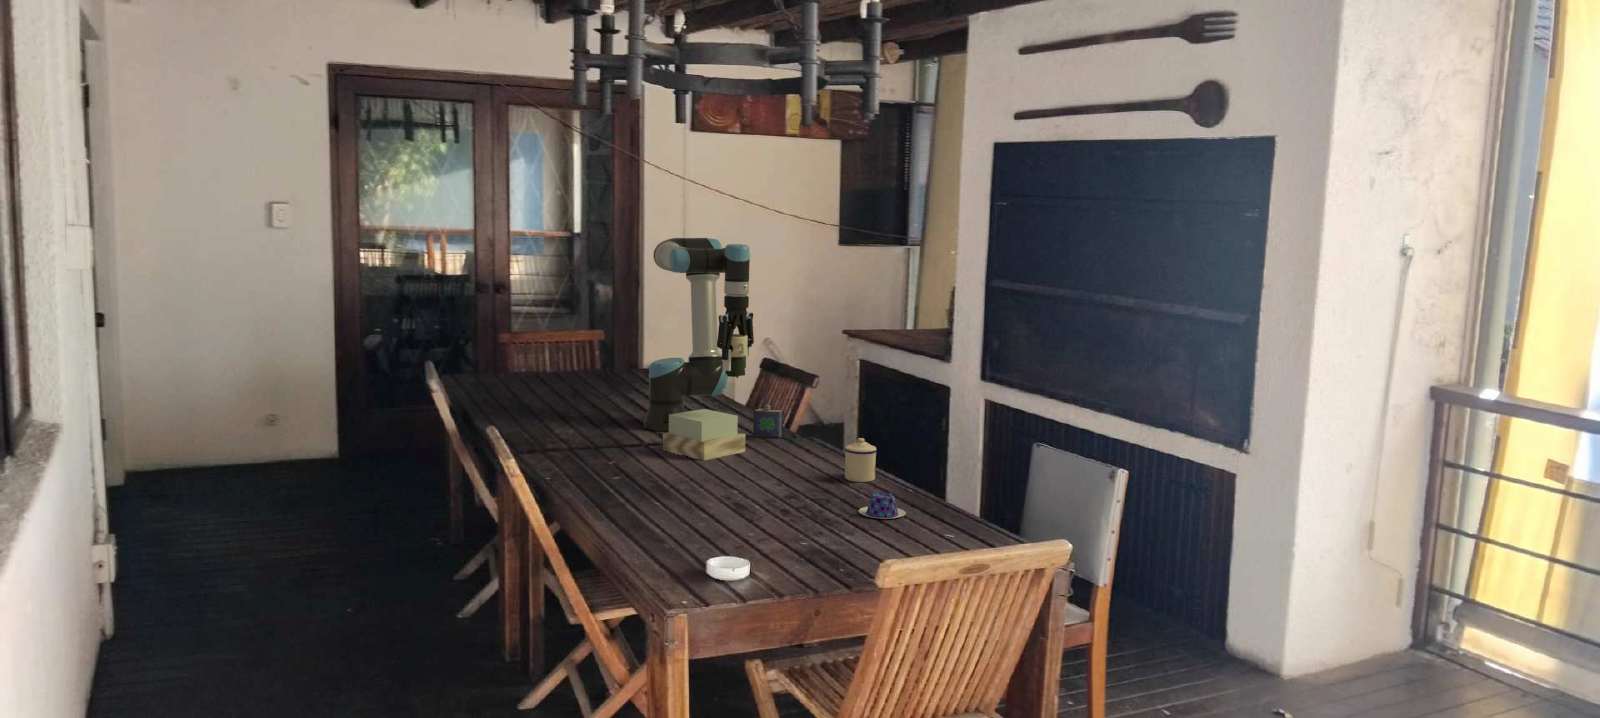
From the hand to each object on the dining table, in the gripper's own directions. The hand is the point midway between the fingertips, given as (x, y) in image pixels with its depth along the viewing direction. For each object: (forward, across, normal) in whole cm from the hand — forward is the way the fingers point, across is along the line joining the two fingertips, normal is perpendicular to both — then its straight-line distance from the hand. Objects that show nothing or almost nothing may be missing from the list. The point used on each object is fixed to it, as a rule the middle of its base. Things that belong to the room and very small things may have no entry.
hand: (735, 368), depth 367 cm
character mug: (+3, 0, 0) cm, 3 cm away
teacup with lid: (+25, -2, -49) cm, 55 cm away
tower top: (+20, -7, +6) cm, 23 cm away
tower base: (+26, -7, +6) cm, 28 cm away
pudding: (+25, -29, -76) cm, 85 cm away
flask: (+26, +24, +6) cm, 36 cm away
